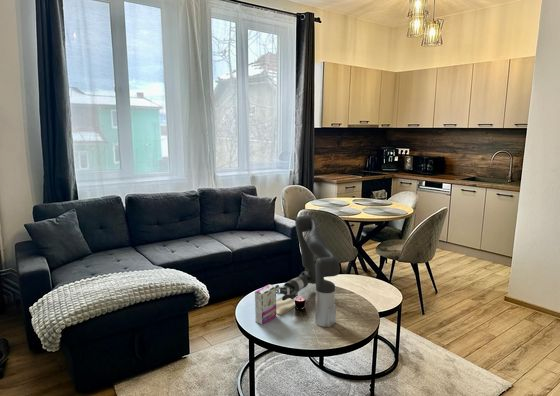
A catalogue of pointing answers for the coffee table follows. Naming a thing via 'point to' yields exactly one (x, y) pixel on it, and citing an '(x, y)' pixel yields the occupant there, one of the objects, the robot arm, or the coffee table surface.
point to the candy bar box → (265, 304)
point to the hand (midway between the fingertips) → (276, 296)
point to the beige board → (284, 306)
